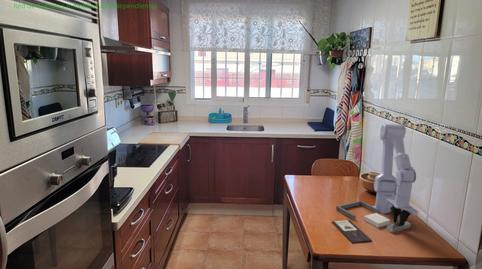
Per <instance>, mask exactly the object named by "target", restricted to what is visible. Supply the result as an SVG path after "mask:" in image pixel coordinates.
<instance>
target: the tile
mask: <svg viewBox="0 0 482 269" xmlns="http://www.w3.org/2000/svg"><path fill="white" fill-rule="evenodd" d="M363 221H365V222H367V223H368V224H370V225H372V226H373V227H376V228H382V227H384V226H385V227H386V226H387V225H391V219H389V218H388V217H385V216H384V215H381V214H379V213H375V212H374V213H370V214H367V215H364V217H363Z"/></svg>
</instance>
